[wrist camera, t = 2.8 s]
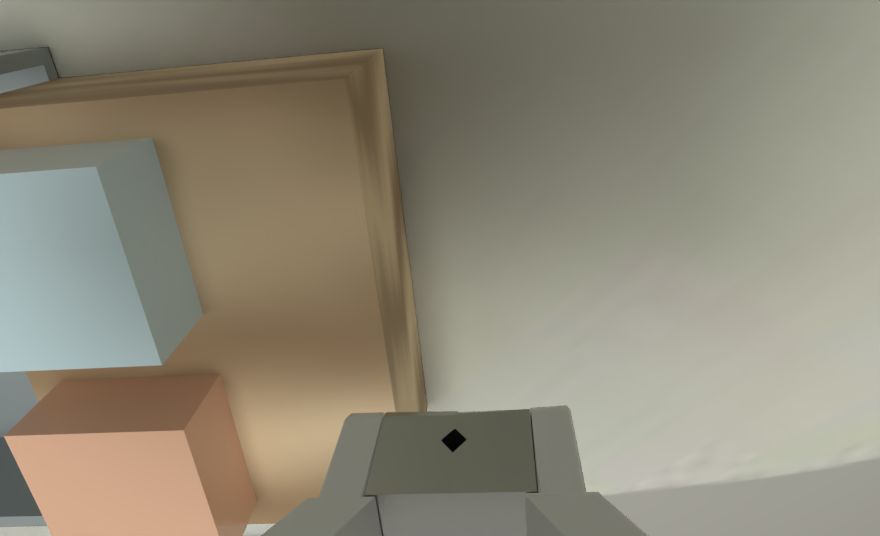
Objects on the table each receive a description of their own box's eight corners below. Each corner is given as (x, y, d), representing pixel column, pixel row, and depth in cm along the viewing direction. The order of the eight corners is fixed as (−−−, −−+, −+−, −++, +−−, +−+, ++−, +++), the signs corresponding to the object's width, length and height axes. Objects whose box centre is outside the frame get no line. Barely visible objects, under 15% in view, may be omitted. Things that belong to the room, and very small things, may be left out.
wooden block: (58, 78, 21) (-89, 116, 16) (382, 48, 20) (344, 78, 15) (172, 414, 27) (94, 526, 22) (427, 405, 26) (412, 521, 21)
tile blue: (-35, 152, 16) (-119, 183, 14) (152, 138, 16) (95, 166, 13) (36, 323, 18) (-27, 373, 16) (203, 314, 18) (162, 365, 15)
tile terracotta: (61, 380, 19) (3, 436, 17) (220, 373, 19) (183, 430, 16) (112, 504, 21) (68, 568, 19) (257, 501, 21) (229, 566, 18)
